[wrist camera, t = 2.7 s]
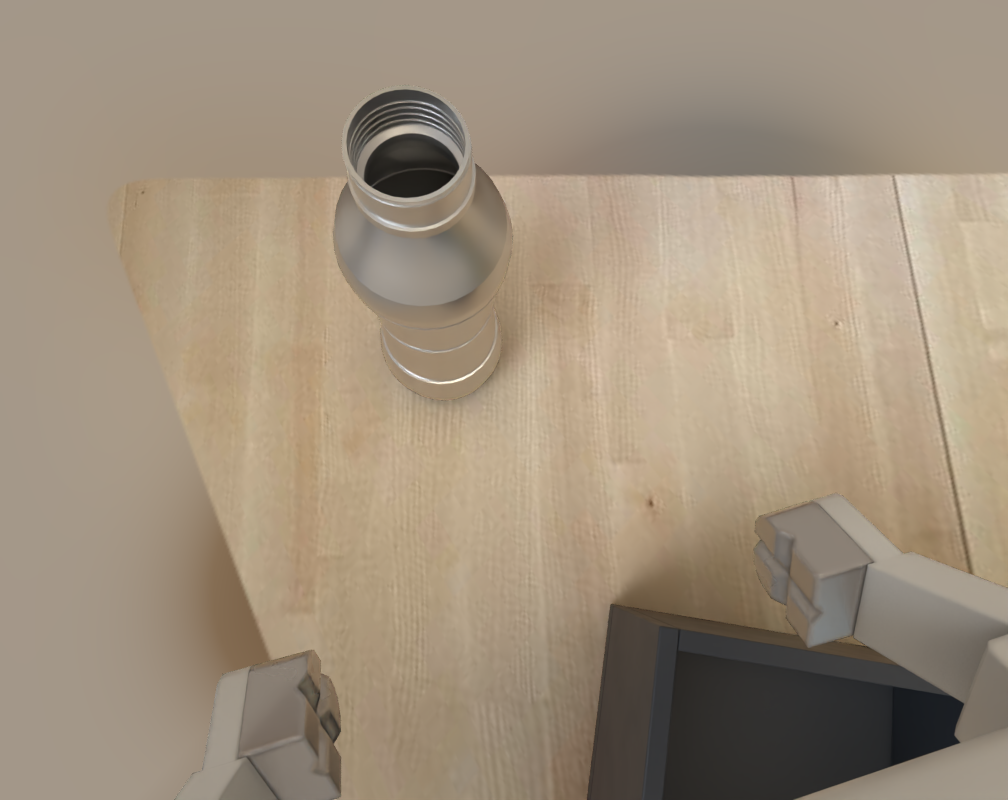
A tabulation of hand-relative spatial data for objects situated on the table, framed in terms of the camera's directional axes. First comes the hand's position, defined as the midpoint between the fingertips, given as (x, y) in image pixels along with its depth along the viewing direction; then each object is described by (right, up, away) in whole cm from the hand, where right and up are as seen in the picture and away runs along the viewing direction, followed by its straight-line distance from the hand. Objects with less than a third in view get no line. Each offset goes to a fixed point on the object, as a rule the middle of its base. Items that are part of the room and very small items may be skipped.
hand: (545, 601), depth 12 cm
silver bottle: (-4, +6, +26) cm, 27 cm away
